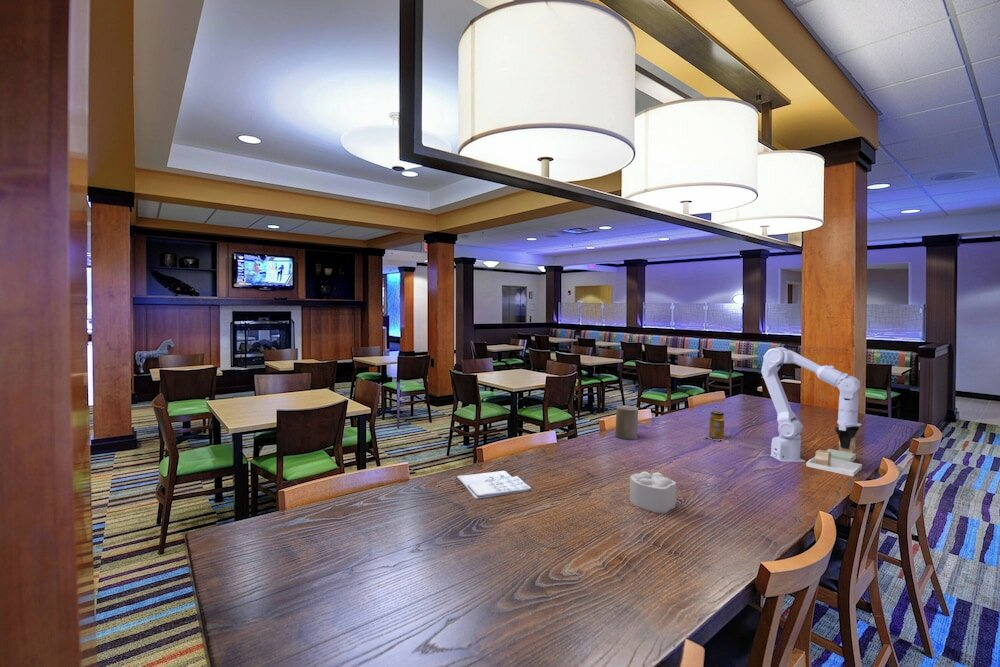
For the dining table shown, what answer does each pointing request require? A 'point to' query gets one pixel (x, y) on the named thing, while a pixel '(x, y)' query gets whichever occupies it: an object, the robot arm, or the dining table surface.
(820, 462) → the plain block
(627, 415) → the pillar candle
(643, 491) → the lumpy-topped squat cylinder
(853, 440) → the labelled block
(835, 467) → the parts tray
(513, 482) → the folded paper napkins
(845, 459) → the sage stand
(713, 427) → the condiment
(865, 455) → the dining table surface
